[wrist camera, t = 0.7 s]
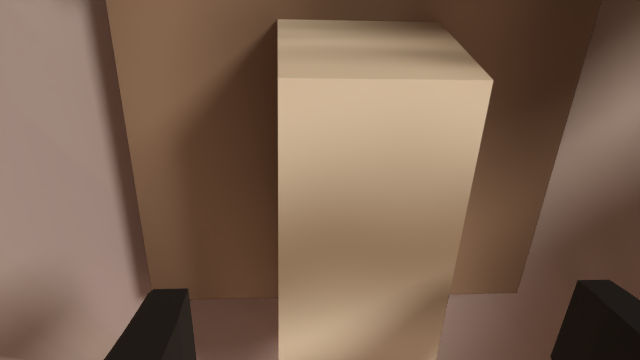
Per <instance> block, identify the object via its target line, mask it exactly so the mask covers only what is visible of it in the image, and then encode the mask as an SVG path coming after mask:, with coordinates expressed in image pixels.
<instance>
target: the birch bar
mask: <svg viewBox="0 0 640 360" xmlns="http://www.w3.org/2000/svg"><path fill="white" fill-rule="evenodd" d="M492 85H493V79H492V78H491V77H490V76H489V75H488V74H487V73H486V72H485V71H484V70H483V68H482V67H481V66H480V65H479V64H478V63H477V62H476V61H475V60H474V59H473V58H472V57H471V56H470V54H469V53H468V52H467V51H466V50H465V49H464V48H463V47H462V46H461V45H460V44H459V43H458V42H457V40H456V39H455V38H454V37H453V36H452V35H451V34H450V33H449V32H448V31H447V30H446V29H445V28H444V27H443V25H442V24H441V23H440V22H401V21H347V20H293V19H278V308H279V360H436V356H437V351H438V346H439V342H440V337H441V332H442V327H443V322H444V317H445V313H446V308H447V303H448V298H449V293H450V288H451V284H452V279H453V274H454V269H455V264H456V259H457V255H458V250H459V245H460V240H461V235H462V230H463V226H464V221H465V216H466V211H467V206H468V201H469V197H470V192H471V187H472V182H473V177H474V172H475V168H476V163H477V158H478V153H479V148H480V143H481V138H482V134H483V129H484V124H485V119H486V114H487V109H488V105H489V100H490V95H491V90H492Z"/></svg>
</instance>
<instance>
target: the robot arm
mask: <svg viewBox="0 0 640 360" xmlns="http://www.w3.org/2000/svg"><path fill="white" fill-rule="evenodd" d="M551 359H552V360H640V300H638V299H637V298H635V297H634V296H633V295H631V294H630V293H628V292H627V291H625V290H624V289H622V288H621V287H619V286H618V285H616V284H615V283H613V282H612V281H610V280H578V281H577V284H576V287H575V290H574V292H573V295H572V298H571V301H570V304H569V306H568V309H567V312H566V315H565V318H564V320H563V323H562V326H561V329H560V332H559V334H558V337H557V340H556V343H555V346H554V348H553V351H552V354H551ZM104 360H196V352H195V343H194V335H193V326H192V317H191V308H190V299H189V290H188V288H182V289H153V290H152V291H151V292H150V293H148V294H147V296H146V298H145V299H144V301H143V303H142V304H141V306H140V307H139V309H138V311H137V312H136V314H135V315H134V317H133V318H132V320H131V321H130V323H129V324H128V326H127V327H126V329H125V330H124V332H123V333H122V335H121V336H120V338H119V339H118V341H117V342H116V343H115V345H114V346H113V348H112V349H111V351H110V352H109V353H108V355H107V356H106V358H105V359H104Z"/></svg>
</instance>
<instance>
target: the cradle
mask: <svg viewBox="0 0 640 360" xmlns="http://www.w3.org/2000/svg"><path fill="white" fill-rule="evenodd" d="M601 1H602V0H106V6H107V12H108V18H109V25H110V31H111V37H112V44H113V50H114V56H115V63H116V69H117V75H118V82H119V88H120V94H121V101H122V107H123V113H124V120H125V126H126V132H127V138H128V145H129V151H130V157H131V164H132V170H133V176H134V183H135V189H136V195H137V202H138V208H139V214H140V221H141V227H142V233H143V239H144V246H145V252H146V258H147V265H148V271H149V277H150V284H151V290H153V289H182V288H188V290H189V299H231V298H278V19H293V20H347V21H401V22H440V23H441V24H442V25H443V27H444V28H445V29H446V30H447V31H448V32H449V33H450V34H451V35H452V36H453V37H454V38H455V39H456V40H457V42H458V43H459V44H460V45H461V46H462V47H463V48H464V49H465V50H466V51H467V52H468V53H469V54H470V56H471V57H472V58H473V59H474V60H475V61H476V62H477V63H478V64H479V65H480V66H481V67H482V68H483V70H484V71H485V72H486V73H487V74H488V75H489V76H490V77H491V78H492V79H493V85H492V90H491V95H490V100H489V105H488V109H487V114H486V119H485V124H484V129H483V134H482V138H481V143H480V148H479V153H478V158H477V163H476V168H475V172H474V177H473V182H472V187H471V192H470V197H469V201H468V206H467V211H466V216H465V221H464V226H463V230H462V235H461V240H460V245H459V250H458V255H457V259H456V264H455V269H454V274H453V279H452V284H451V288H450V293H449V294H487V293H517V291H518V287H519V284H520V280H521V277H522V274H523V270H524V267H525V263H526V260H527V256H528V253H529V249H530V246H531V242H532V239H533V236H534V232H535V229H536V225H537V222H538V218H539V215H540V211H541V208H542V204H543V201H544V198H545V194H546V191H547V187H548V184H549V180H550V177H551V173H552V170H553V166H554V163H555V160H556V156H557V153H558V149H559V146H560V142H561V139H562V135H563V132H564V128H565V125H566V122H567V118H568V115H569V111H570V108H571V104H572V101H573V97H574V94H575V90H576V87H577V84H578V80H579V77H580V73H581V70H582V66H583V63H584V59H585V56H586V52H587V49H588V46H589V42H590V39H591V35H592V32H593V28H594V25H595V21H596V18H597V14H598V11H599V8H600V4H601Z"/></svg>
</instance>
